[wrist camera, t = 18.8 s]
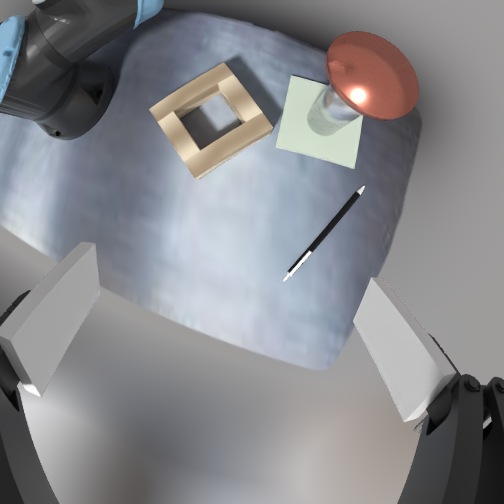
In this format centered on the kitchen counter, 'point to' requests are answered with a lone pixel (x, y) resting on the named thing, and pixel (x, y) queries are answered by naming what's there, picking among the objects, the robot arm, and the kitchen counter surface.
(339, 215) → the pen
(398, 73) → the steel peg
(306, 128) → the sage pad
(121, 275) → the kitchen counter surface
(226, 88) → the block
